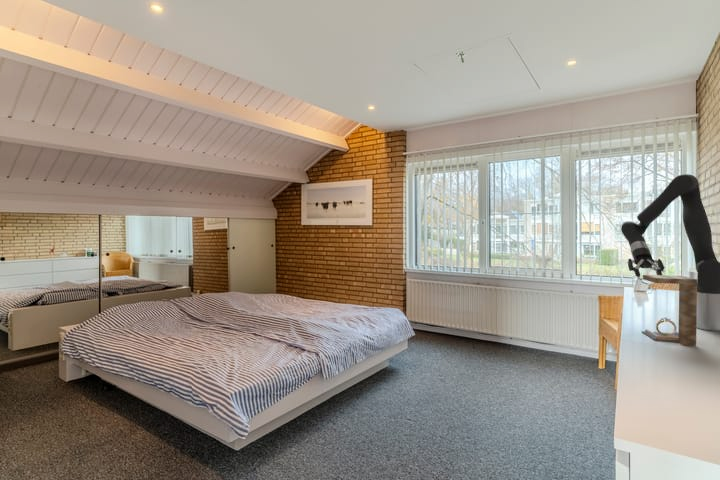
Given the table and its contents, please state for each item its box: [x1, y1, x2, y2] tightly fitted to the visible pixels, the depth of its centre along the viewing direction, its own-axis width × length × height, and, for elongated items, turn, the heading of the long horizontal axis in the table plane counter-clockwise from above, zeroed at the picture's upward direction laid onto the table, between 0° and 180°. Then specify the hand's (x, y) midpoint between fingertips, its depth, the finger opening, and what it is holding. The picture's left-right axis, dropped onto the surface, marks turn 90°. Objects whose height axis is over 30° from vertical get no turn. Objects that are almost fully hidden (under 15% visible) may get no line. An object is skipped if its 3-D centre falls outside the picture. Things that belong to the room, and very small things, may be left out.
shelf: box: [642, 274, 697, 347], centre depth 165 cm, size 14×14×27 cm
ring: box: [655, 317, 677, 336], centre depth 170 cm, size 7×3×8 cm, turn 49°
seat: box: [641, 328, 679, 343], centre depth 170 cm, size 14×14×2 cm
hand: (649, 276), depth 188 cm, fingers open, 8 cm apart
